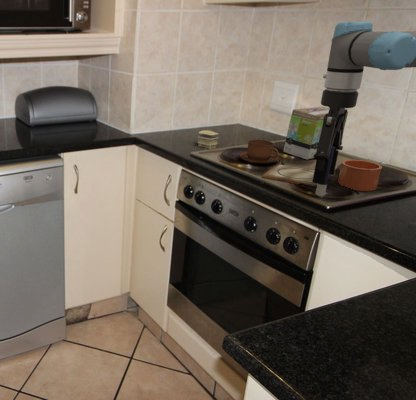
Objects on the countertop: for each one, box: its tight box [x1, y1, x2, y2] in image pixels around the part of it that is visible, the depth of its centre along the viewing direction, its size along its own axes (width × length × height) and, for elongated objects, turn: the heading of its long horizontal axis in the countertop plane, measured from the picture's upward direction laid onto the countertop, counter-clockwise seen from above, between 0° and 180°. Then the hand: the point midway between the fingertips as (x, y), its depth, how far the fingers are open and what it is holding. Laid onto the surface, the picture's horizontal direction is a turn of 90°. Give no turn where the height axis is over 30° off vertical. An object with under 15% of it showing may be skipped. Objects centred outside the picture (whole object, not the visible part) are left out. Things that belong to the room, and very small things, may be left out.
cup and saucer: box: [238, 139, 280, 165], centre depth 152 cm, size 12×12×6 cm
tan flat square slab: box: [261, 163, 332, 185], centre depth 138 cm, size 15×14×1 cm
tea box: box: [283, 106, 349, 160], centre depth 158 cm, size 15×10×15 cm, turn 117°
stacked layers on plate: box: [197, 129, 220, 150], centre depth 169 cm, size 10×9×6 cm
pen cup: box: [337, 159, 383, 192], centre depth 130 cm, size 9×9×6 cm
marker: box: [315, 146, 334, 197], centre depth 122 cm, size 2×2×13 cm
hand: (323, 178), depth 123 cm, fingers open, 9 cm apart
